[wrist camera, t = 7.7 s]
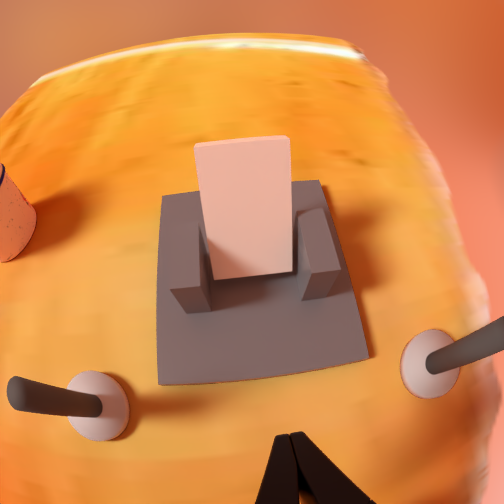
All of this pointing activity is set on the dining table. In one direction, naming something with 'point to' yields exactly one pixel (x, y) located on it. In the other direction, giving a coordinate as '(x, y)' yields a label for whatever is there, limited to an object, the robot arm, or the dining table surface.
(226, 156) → the block
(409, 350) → the post
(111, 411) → the post
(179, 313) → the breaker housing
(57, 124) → the dining table surface
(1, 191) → the teacup with lid
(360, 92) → the dining table surface
